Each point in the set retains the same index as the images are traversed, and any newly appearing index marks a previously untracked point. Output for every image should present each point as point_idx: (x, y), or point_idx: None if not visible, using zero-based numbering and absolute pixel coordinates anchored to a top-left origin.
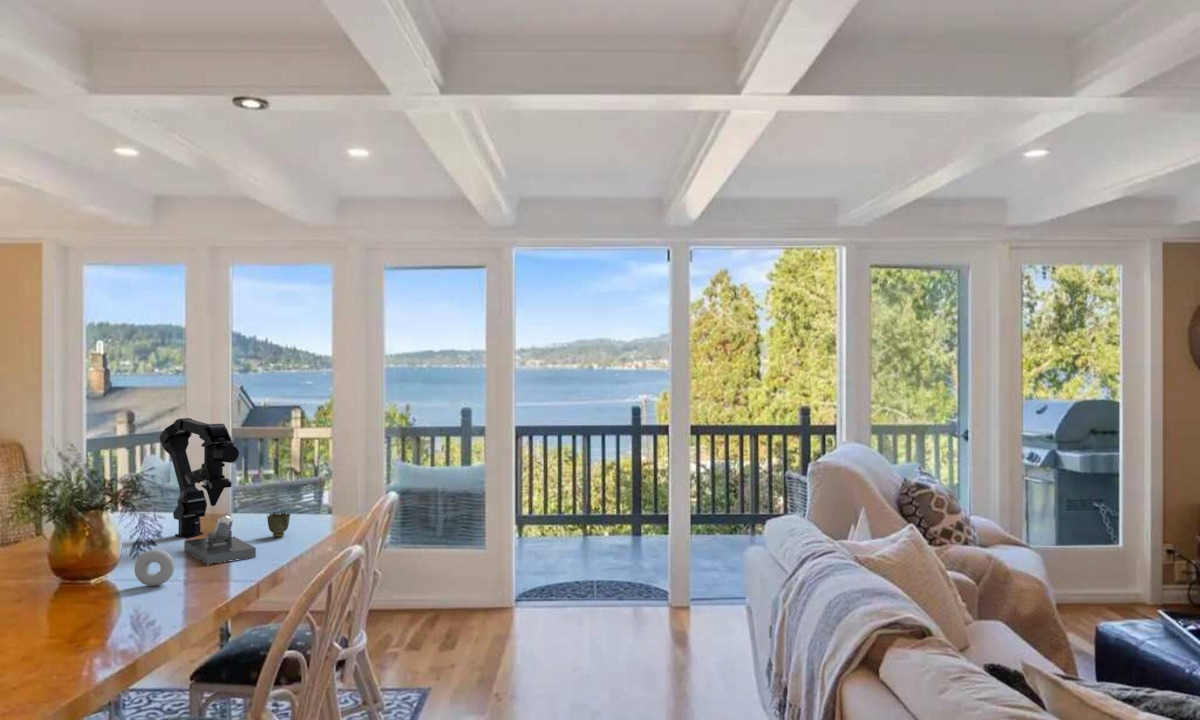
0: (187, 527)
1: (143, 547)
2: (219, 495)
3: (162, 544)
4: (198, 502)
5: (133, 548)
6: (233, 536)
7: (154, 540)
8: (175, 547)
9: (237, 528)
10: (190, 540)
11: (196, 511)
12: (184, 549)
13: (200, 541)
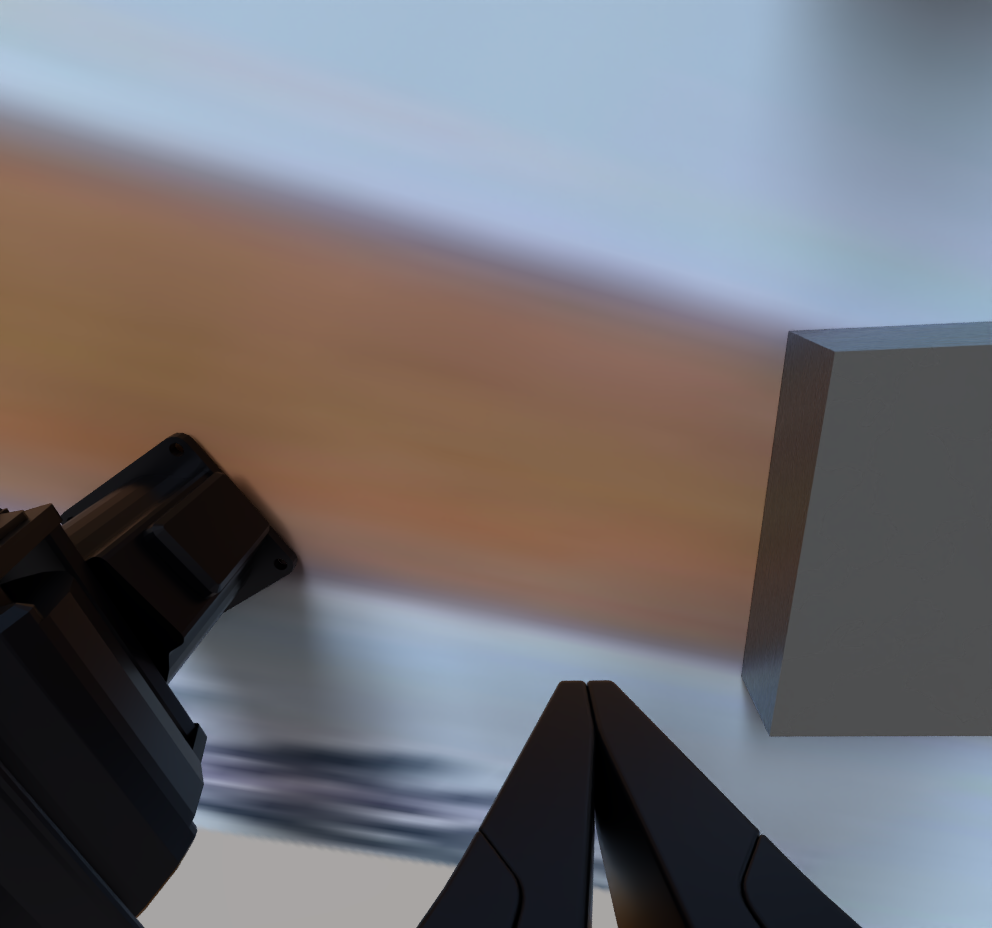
0: (215, 615)
1: (448, 819)
2: (791, 880)
3: (428, 733)
4: (29, 780)
5: (440, 856)
6: (982, 350)
7: (259, 742)
8: None
9: (29, 25)
10: (789, 702)
11: (141, 680)
12: (744, 680)
13: (905, 655)
